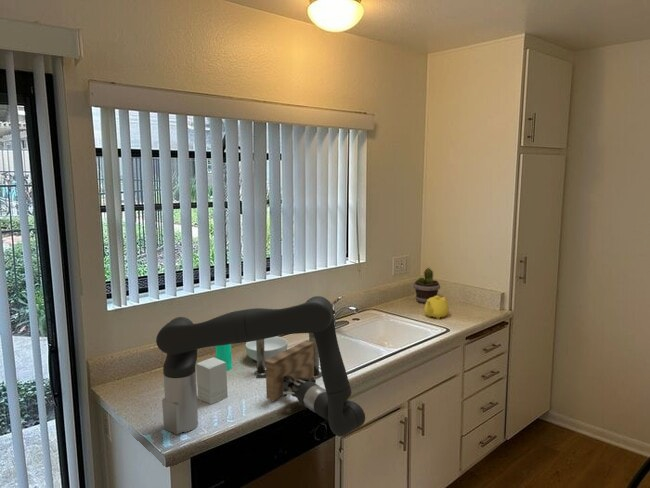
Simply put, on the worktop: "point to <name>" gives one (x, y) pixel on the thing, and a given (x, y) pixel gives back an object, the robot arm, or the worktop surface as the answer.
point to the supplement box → (212, 380)
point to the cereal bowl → (267, 347)
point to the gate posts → (261, 359)
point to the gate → (289, 367)
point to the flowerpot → (426, 287)
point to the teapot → (436, 307)
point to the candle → (224, 355)
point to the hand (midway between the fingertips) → (285, 378)
